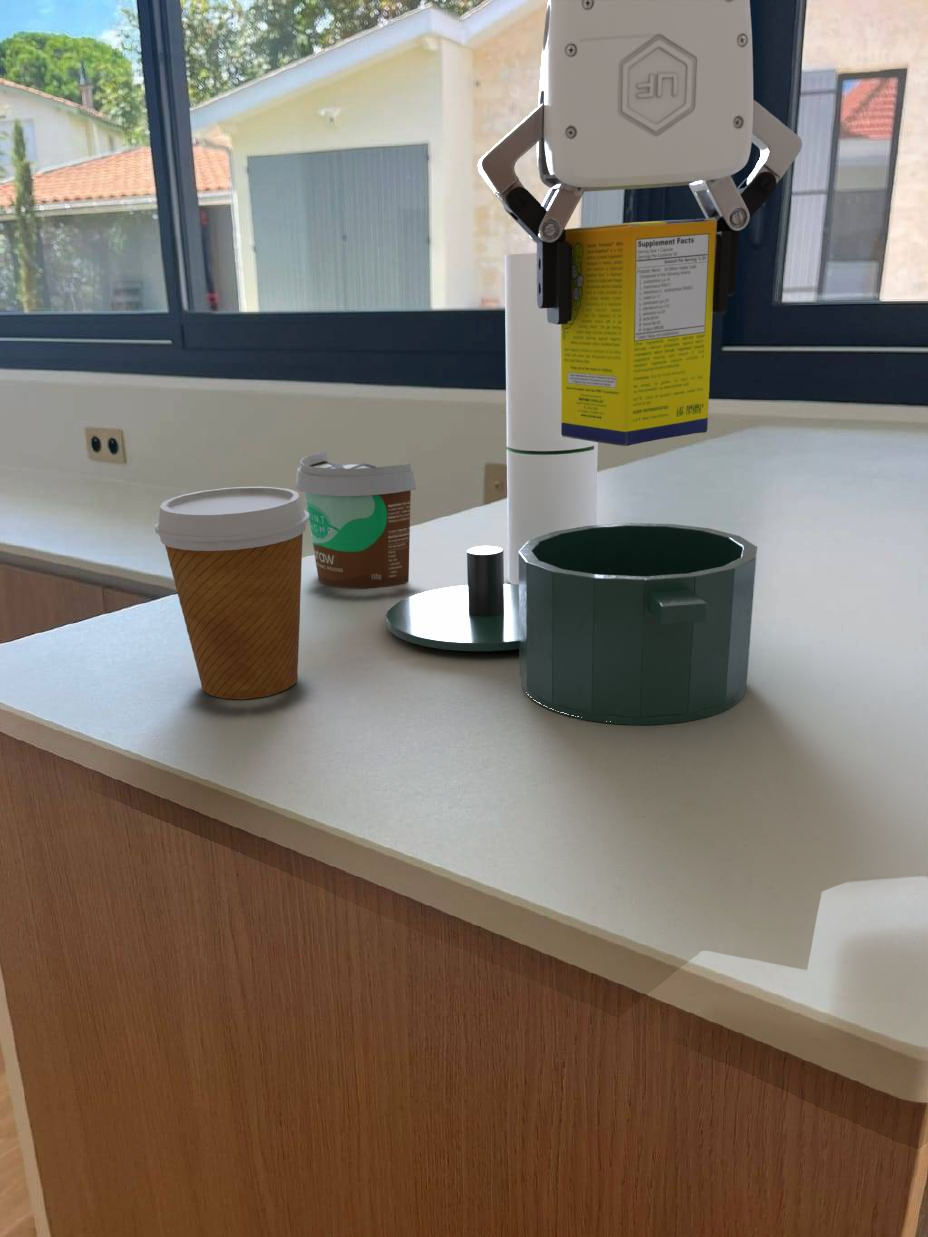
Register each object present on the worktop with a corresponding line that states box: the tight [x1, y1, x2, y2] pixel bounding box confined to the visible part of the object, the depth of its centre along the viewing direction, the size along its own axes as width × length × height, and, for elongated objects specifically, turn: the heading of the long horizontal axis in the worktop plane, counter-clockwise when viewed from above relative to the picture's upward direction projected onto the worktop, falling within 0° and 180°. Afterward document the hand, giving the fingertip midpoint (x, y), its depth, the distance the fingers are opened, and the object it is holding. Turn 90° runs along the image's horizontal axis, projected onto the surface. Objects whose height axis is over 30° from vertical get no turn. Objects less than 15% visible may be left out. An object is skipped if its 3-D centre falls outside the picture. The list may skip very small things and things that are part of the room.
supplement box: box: [561, 217, 717, 447], centre depth 60 cm, size 6×6×11 cm
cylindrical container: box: [504, 252, 599, 585], centre depth 87 cm, size 7×7×25 cm
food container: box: [295, 450, 417, 589], centre depth 93 cm, size 12×6×10 cm, turn 40°
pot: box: [518, 522, 758, 726], centre depth 67 cm, size 14×19×8 cm
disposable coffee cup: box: [154, 486, 309, 700], centre depth 70 cm, size 10×10×12 cm
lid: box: [385, 545, 519, 652], centre depth 80 cm, size 15×15×6 cm
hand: (635, 315), depth 60 cm, fingers closed on supplement box, 7 cm apart
